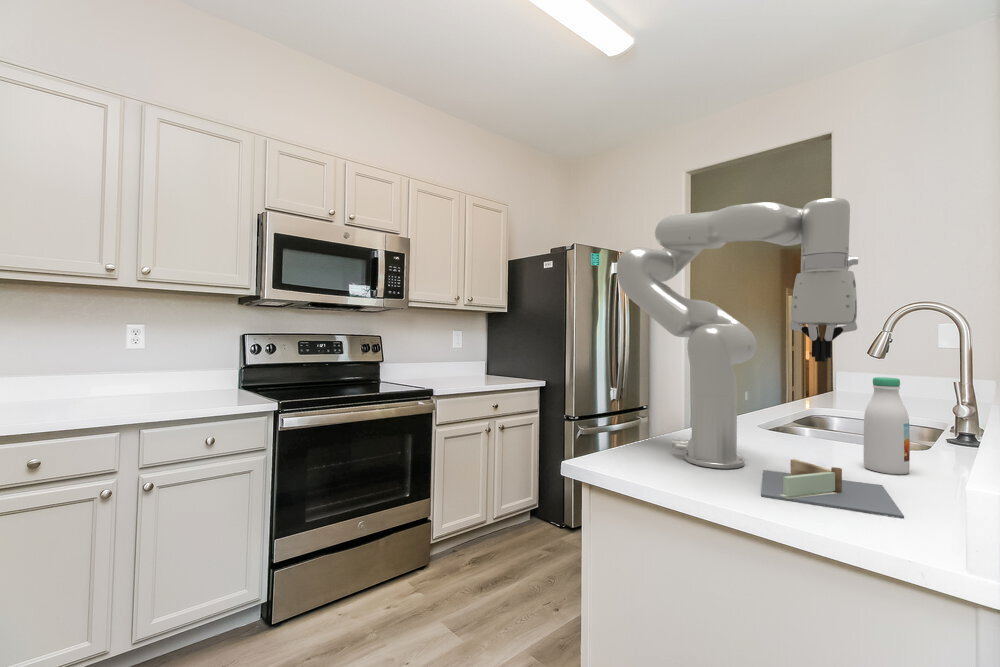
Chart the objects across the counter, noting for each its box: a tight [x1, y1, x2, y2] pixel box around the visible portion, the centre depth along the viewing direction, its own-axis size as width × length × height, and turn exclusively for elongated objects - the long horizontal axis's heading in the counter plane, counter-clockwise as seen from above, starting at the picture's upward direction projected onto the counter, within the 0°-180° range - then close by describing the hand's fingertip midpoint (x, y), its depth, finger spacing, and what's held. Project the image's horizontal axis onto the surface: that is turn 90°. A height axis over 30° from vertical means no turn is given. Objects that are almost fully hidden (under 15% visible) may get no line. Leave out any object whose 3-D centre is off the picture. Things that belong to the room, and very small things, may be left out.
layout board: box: [760, 469, 905, 519], centre depth 88 cm, size 20×18×1 cm
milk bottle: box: [863, 376, 911, 475], centre depth 103 cm, size 8×8×20 cm
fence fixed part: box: [790, 458, 843, 493], centre depth 92 cm, size 10×2×5 cm, turn 15°
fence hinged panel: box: [783, 472, 835, 496], centre depth 85 cm, size 11×1×3 cm, turn 107°
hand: (821, 361), depth 91 cm, fingers closed
